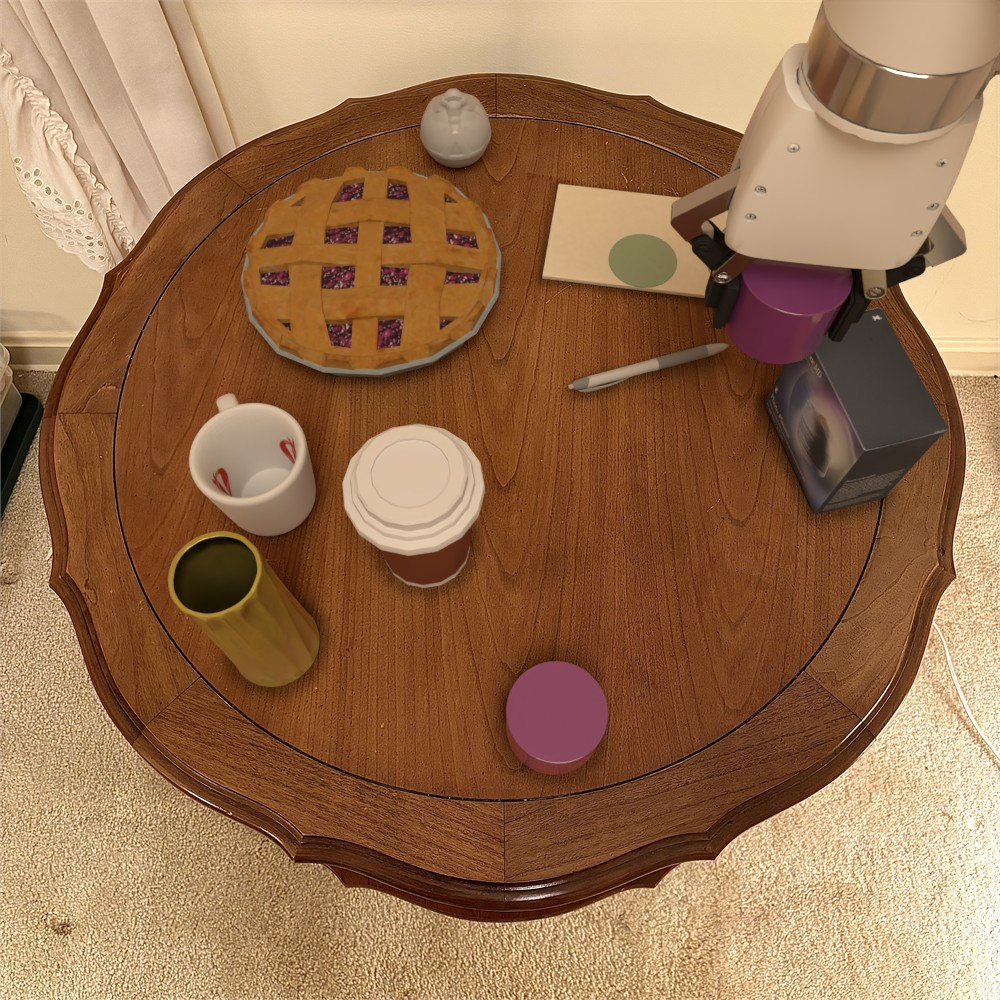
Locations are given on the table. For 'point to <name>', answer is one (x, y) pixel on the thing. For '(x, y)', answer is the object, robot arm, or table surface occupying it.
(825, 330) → the purple cylinder puck
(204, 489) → the cup
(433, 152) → the figurine
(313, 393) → the table surface
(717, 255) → the robot arm
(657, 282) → the placemat
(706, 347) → the pen
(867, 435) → the small box
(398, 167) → the pie
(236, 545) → the vase
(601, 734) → the purple short cylinder
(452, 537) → the coffee cup
